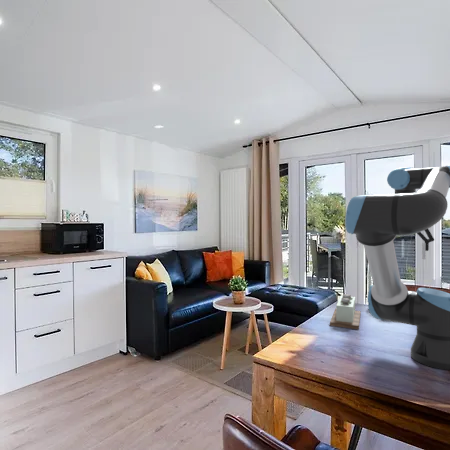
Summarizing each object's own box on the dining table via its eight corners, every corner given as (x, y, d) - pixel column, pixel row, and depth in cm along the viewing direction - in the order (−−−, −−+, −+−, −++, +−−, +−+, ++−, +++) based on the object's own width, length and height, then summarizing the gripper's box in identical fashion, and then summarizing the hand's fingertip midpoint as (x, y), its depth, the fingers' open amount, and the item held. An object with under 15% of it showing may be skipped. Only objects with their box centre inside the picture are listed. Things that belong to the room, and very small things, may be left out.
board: (358, 329, 139) (359, 304, 139) (329, 325, 144) (329, 301, 144) (360, 314, 162) (360, 292, 162) (335, 311, 167) (335, 290, 167)
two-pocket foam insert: (352, 322, 143) (352, 307, 143) (336, 320, 146) (336, 305, 146) (355, 310, 162) (355, 297, 162) (340, 309, 165) (340, 295, 165)
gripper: (439, 206, 129) (438, 258, 130) (371, 207, 140) (370, 255, 140) (443, 205, 123) (442, 260, 123) (371, 206, 133) (370, 257, 133)
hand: (404, 258), depth 132 cm, fingers open, 13 cm apart
